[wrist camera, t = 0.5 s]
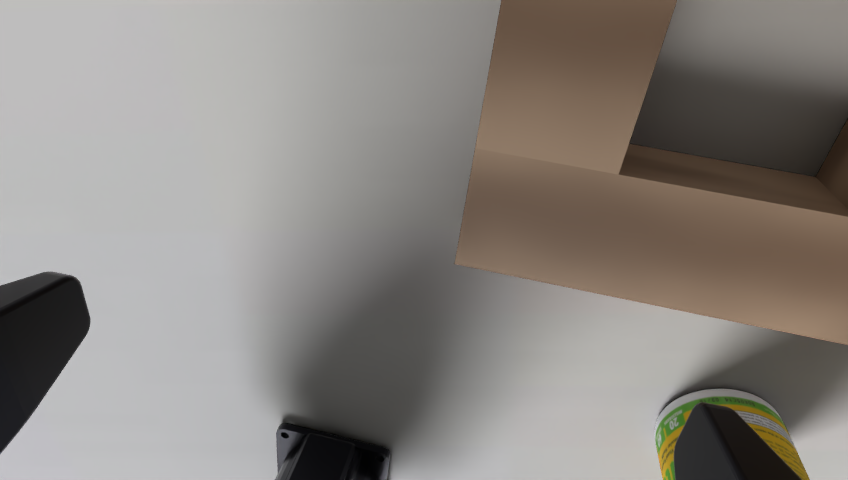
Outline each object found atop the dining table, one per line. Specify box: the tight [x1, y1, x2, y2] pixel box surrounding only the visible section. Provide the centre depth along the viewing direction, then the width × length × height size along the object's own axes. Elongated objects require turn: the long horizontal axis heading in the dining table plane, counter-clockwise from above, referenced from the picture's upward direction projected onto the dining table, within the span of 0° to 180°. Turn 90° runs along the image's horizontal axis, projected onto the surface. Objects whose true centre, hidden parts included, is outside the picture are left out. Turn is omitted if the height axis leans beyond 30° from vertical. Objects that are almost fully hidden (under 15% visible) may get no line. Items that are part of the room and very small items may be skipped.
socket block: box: [455, 0, 848, 345], centre depth 16 cm, size 16×16×3 cm
